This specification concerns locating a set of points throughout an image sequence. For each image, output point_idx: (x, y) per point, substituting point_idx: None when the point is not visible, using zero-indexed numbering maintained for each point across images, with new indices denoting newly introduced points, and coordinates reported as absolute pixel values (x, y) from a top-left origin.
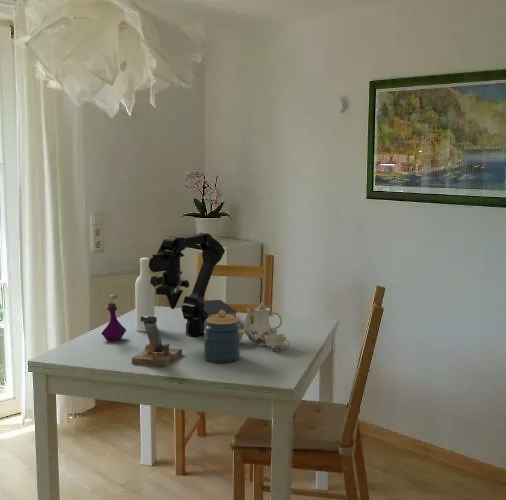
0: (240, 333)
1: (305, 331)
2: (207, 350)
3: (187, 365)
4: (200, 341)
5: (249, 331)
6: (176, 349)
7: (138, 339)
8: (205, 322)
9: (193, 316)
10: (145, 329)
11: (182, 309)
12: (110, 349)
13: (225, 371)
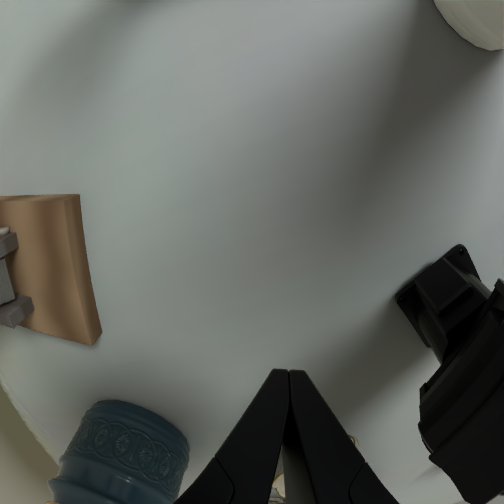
0: (283, 497)
1: (439, 494)
2: (77, 430)
3: (36, 361)
4: (321, 355)
5: None
6: (75, 326)
7: (263, 11)
8: None
9: (428, 390)
10: (441, 4)
11: (501, 335)
12: (55, 7)
13: (64, 432)
